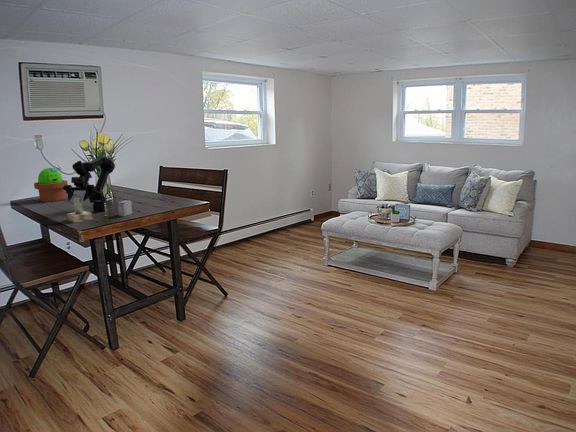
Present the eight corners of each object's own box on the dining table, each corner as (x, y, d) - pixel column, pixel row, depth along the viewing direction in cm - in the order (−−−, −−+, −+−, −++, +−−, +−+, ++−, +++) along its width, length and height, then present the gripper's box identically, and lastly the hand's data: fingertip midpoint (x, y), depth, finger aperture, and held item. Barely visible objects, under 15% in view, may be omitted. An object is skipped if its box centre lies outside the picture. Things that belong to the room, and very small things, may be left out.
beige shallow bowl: (85, 216, 272) (84, 210, 271) (93, 219, 265) (92, 213, 264) (67, 220, 264) (66, 213, 263) (74, 222, 257) (73, 216, 256)
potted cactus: (32, 200, 330) (26, 167, 325) (62, 196, 347) (57, 164, 341) (43, 204, 317) (38, 169, 311) (74, 199, 333) (70, 166, 327)
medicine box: (126, 213, 280) (125, 200, 278) (132, 213, 278) (131, 200, 276) (118, 216, 272) (117, 202, 270) (124, 216, 271) (123, 202, 269)
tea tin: (77, 212, 266) (75, 196, 264) (84, 212, 266) (82, 196, 263) (73, 214, 261) (71, 197, 259) (80, 214, 261) (78, 197, 259)
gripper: (62, 171, 262) (54, 193, 254) (92, 171, 261) (85, 192, 253) (71, 182, 272) (63, 203, 264) (100, 182, 270) (93, 203, 262)
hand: (76, 200), depth 260 cm, fingers open, 9 cm apart
